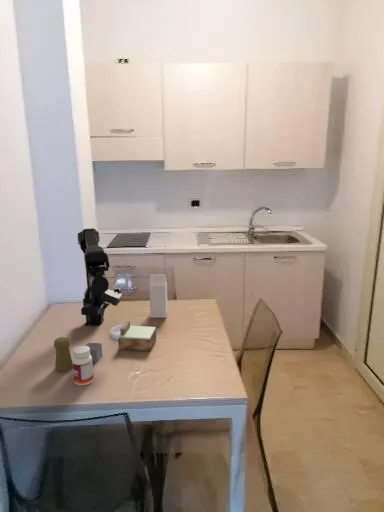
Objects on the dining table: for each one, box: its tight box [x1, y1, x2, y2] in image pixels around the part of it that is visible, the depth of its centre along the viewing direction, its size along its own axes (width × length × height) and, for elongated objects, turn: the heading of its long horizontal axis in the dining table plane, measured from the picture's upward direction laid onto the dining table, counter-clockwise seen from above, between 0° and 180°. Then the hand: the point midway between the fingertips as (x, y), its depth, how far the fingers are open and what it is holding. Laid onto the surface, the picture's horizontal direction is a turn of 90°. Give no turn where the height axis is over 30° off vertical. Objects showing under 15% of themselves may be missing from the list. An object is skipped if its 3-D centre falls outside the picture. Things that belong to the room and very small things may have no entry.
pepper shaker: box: [53, 336, 73, 373], centre depth 140 cm, size 6×6×11 cm
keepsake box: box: [117, 328, 157, 353], centre depth 157 cm, size 12×10×4 cm
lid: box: [117, 320, 157, 340], centre depth 156 cm, size 12×10×3 cm
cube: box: [85, 342, 103, 364], centre depth 147 cm, size 5×5×5 cm
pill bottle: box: [71, 345, 94, 386], centre depth 132 cm, size 6×6×11 cm
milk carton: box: [148, 274, 168, 319], centre depth 184 cm, size 7×7×19 cm
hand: (100, 324), depth 153 cm, fingers closed
